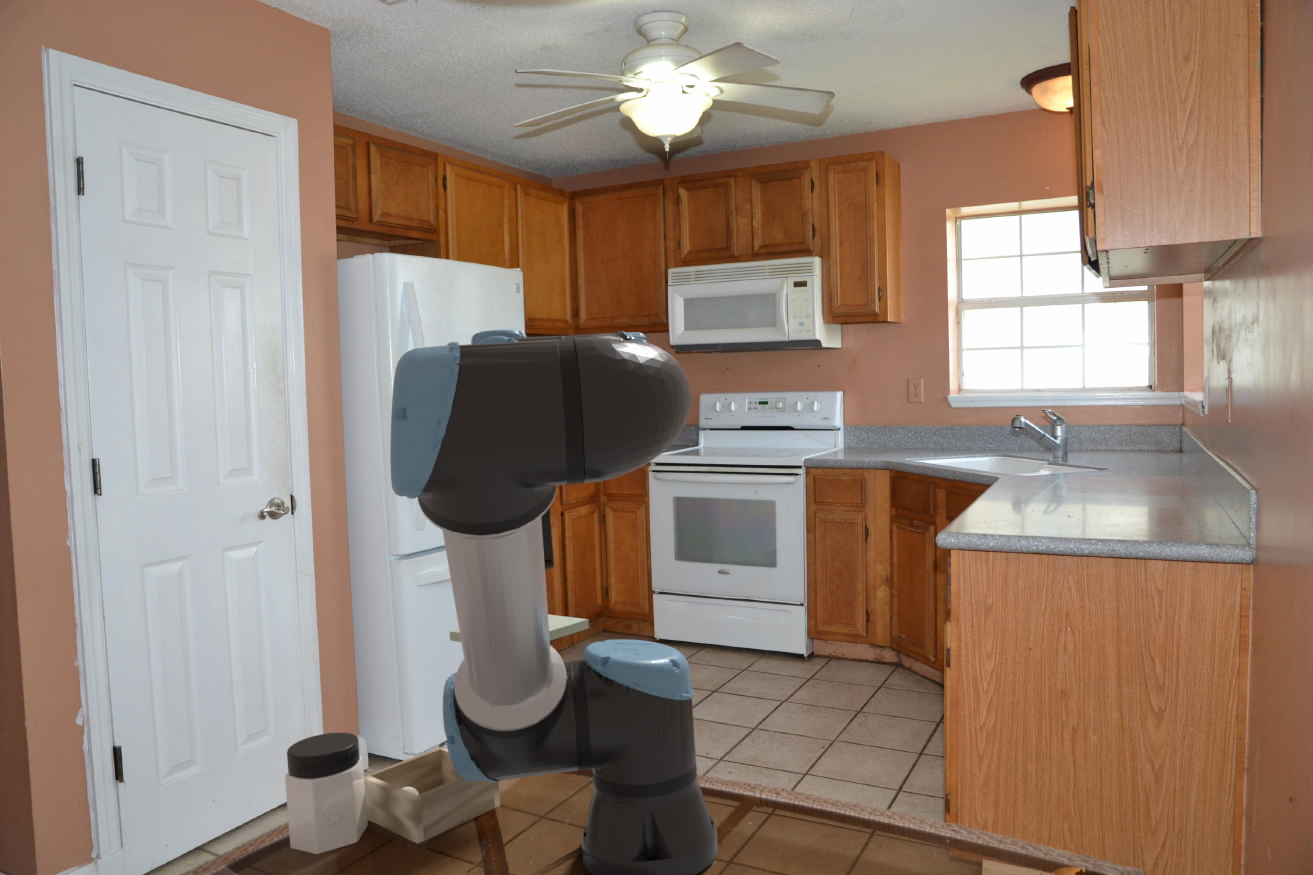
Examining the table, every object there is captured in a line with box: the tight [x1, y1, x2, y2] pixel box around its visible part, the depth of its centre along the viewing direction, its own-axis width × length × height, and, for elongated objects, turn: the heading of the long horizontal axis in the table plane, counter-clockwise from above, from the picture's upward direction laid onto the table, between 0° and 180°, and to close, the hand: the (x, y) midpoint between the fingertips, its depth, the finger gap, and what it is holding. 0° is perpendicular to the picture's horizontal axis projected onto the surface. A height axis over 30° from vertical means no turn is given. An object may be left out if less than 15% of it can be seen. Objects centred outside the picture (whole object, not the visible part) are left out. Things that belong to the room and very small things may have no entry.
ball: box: [401, 787, 419, 795], centre depth 113 cm, size 3×3×3 cm
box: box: [364, 746, 501, 845], centre depth 112 cm, size 12×12×6 cm
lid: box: [449, 613, 590, 643], centre depth 119 cm, size 13×13×9 cm
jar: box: [284, 732, 369, 855], centre depth 107 cm, size 9×8×12 cm
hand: (519, 621), depth 119 cm, fingers closed on lid, 5 cm apart
